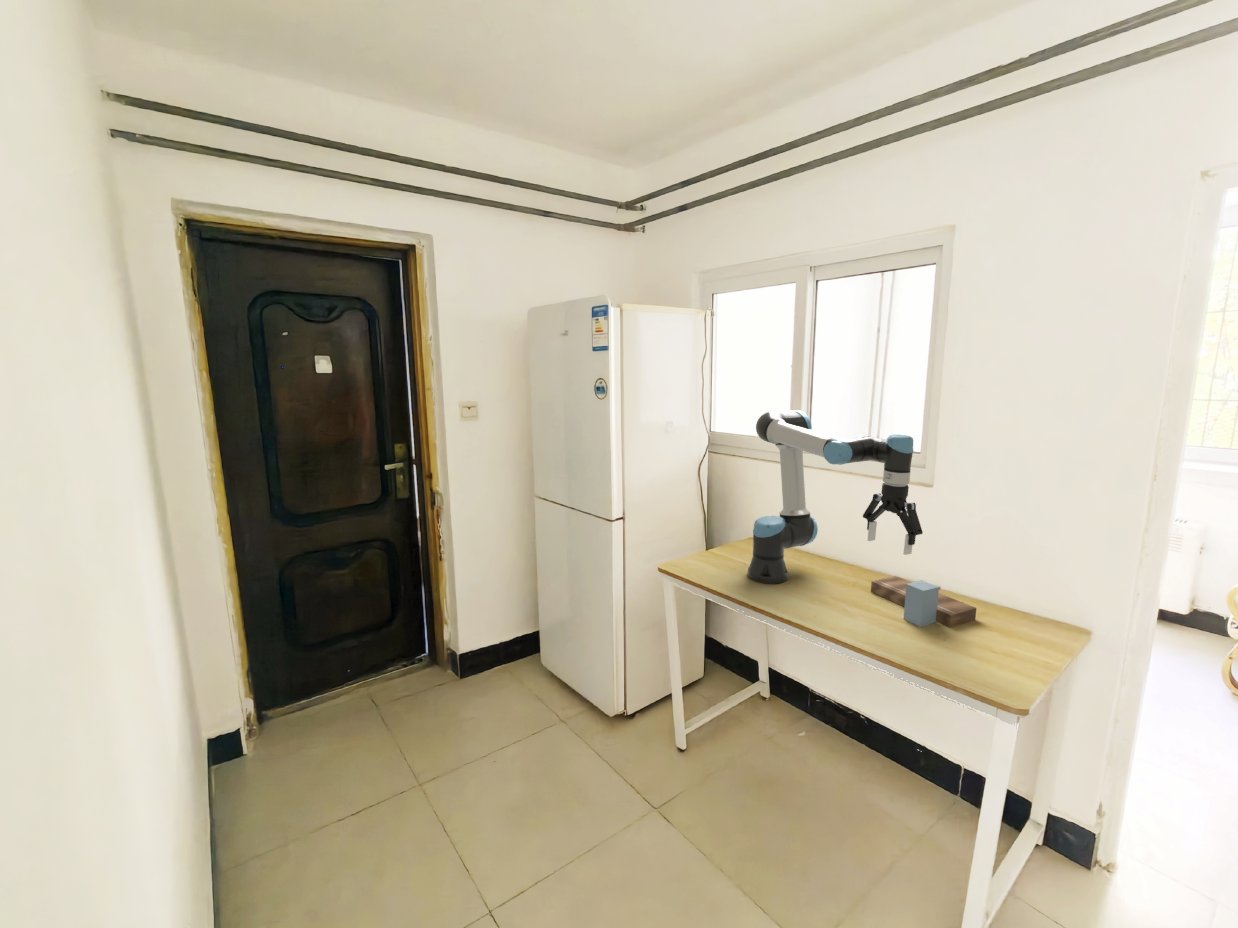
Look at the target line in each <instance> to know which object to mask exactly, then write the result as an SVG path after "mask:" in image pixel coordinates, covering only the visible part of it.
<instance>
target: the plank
mask: <svg viewBox="0 0 1238 928" xmlns="http://www.w3.org/2000/svg"><path fill="white" fill-rule="evenodd" d="M908 583H913V582H912V581H909V580H907V579H904V578H902V577H900V576H897V575H893V576H892V575H891V576H888V577H884V578H881V579H876V580H871V586H870V593H873V594H876V595H877V596H880V597H881V598H884V599H886V600H889V601H891V602H893V603H895V604H897V605H900V606H902V607H905V594H906V584H908ZM976 616H977V607H976V606H973V605H971V604H968V603H965V602H963V601H960V600H957V599H956V598H952V597H951V596H947V595H945V594H942V593H940V592H938V603H937V614H936V623H940V624H942V625H943V626H946V627H949V628H952V627H956V626H958V625H963V624H965V623H968V622H969V623H970V622H971V621H975V620H976Z"/></svg>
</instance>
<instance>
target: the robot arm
mask: <svg viewBox="0 0 1238 928" xmlns="http://www.w3.org/2000/svg"><path fill="white" fill-rule="evenodd" d="M812 426H813V425H812V421H811V418H810V417H809V416H808V415H807V414H806V413H805V412H804V411H802V410H798V409H797V410H795V409H789V410H778V411H777V410H776V411H774V410H773V411H768V412H765V413H764V414H762V415H761V416H759V418H758V419H757V420H756V424H755V431H756V434H757V436H758V437H759V438H760V439H761V440H762V441H764V442H767V443H770V444H774V446H775V447H776V448H778V449H779V459H780V462H779V463H780V474H781V475H780V477H781V493H782V509H781V511H780V512H779V515H766V516H761V517H758V518H757V519H756V520H754V523H753V529H752V532H753V533H752V537H753V538H752V557H751V558H752V559H751V560H750V564H749V566H748V567H747V577H748V578H749V579H750V580H752V581H755V582H757V583H762V584H774V585H775V584H780V583H784V582H786V581H787V580H788V577H789V576H788V569H787V566H786V563H785V562H786V561H785V559H784V557H785V549H790V548H791V549H792V548H796V547H804V546H806V545H809V544H811V543H812V542H814V540H815V539H816V538H817V535H818V524H817V521H815V518H814V517H813V516H811V511H810V510H808V509H807V506H806V505H807V504H806V503H807V502H806V491H805V490H806V489H805V486H806V485H805V474H804V457H803V452H806V453H809V454H812V455H815V456H817V457H818V456H819V457H822V458H824V459H825V461H826V462H827V463H828V464H831V465H839V466H841V465H845V464H851V463H860V462H868V461H869V462H871V461H872V462H879V463H882V464H884V465H883V473H882V474H883V476H882V482H883V483H882V484H881V493H874V494H873V495H872V500H871V501H870V503H869V504H868V506H867V508H866V510H865V511H864V513H862V517H863V519H865V520H867V526H866V529H867V532H868V533H867V541H869V542H871V541H876V534H877V525H878V521H877V519H878V518H879V517H880V516H881V515H883V514H884V512H891V513H892V514H896V516H898V517H899V519H900V521H901V523H902V525H903V527H904V528H905V531H906V532H907V533H906V534H905V535H904V536H905V537H904V544H903V555H906V556H907V555H911V554H912V551H913V546H914V545H915V543H916V537H917V536H919V535H923V530H922V526H921V523H920V520H919V516H918V514H917V507H916V506H917V504H916V503H915V502H907V499H908V495H909V488H910V487H909V485H910V479H911V467H912V460H913V459H912V458H913V454H914V437H911V436H910V435H905V434H889V435H888V436H887V437H886V439H883V438H878V437H873V436H871V435H870V436H866V435H859V436H856V437H855V438H854V439H851V438H850V439H843V438H840V437H836V436H833V435H829V434H826V433H823V432H818V431H815V430H812V429H813V427H812ZM880 501H881V505H879V503H880Z"/></svg>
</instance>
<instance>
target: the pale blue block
mask: <svg viewBox="0 0 1238 928" xmlns="http://www.w3.org/2000/svg"><path fill="white" fill-rule="evenodd" d="M939 591H941V586H940V585H937V584H932V583H929V582H927V581H926V580H925V581H924V580H917V581H914V582H912V583H908V584H906V594H905V607H904V606H903V607H904V608H903V609H904V610H903V620H904V621H907V622H908V623H911V624H913V625H915V626H917V627H920V628H922V627H925V626H928V625H932V624H936V623H937V621H936V614H937V603H938V593H940V592H939Z"/></svg>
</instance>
